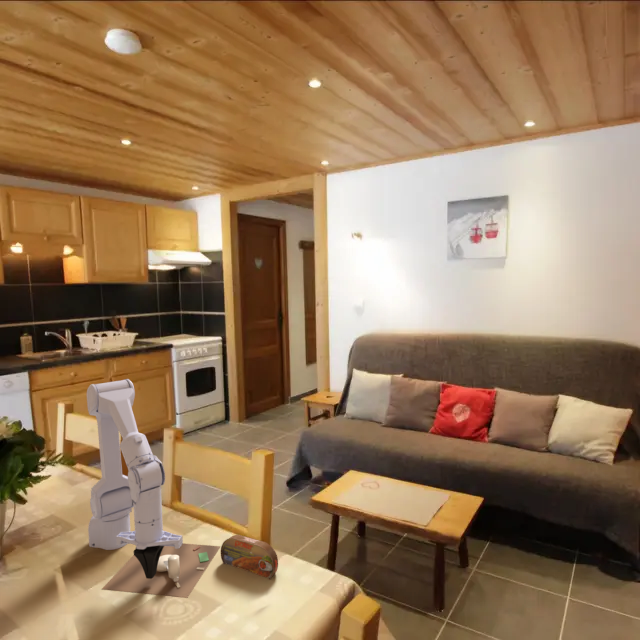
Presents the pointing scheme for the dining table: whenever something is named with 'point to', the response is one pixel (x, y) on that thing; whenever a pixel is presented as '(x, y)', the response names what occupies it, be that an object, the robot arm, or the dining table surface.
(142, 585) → the board
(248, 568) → the tin
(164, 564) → the peg
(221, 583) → the dining table surface
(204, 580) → the dining table surface
